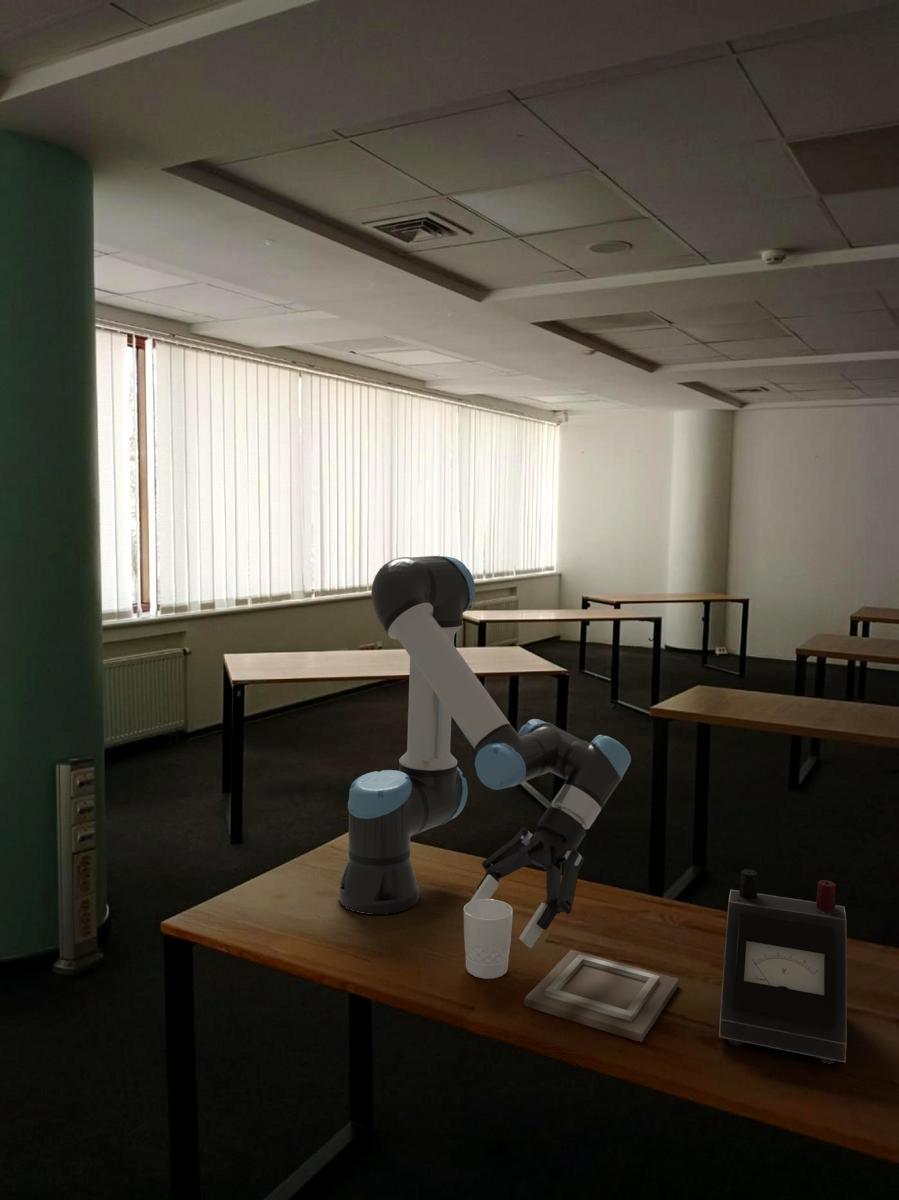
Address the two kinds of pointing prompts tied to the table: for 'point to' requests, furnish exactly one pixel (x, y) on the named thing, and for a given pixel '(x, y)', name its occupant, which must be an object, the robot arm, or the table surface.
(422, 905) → the table surface
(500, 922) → the white cup
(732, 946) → the voltmeter
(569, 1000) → the framed square tray
